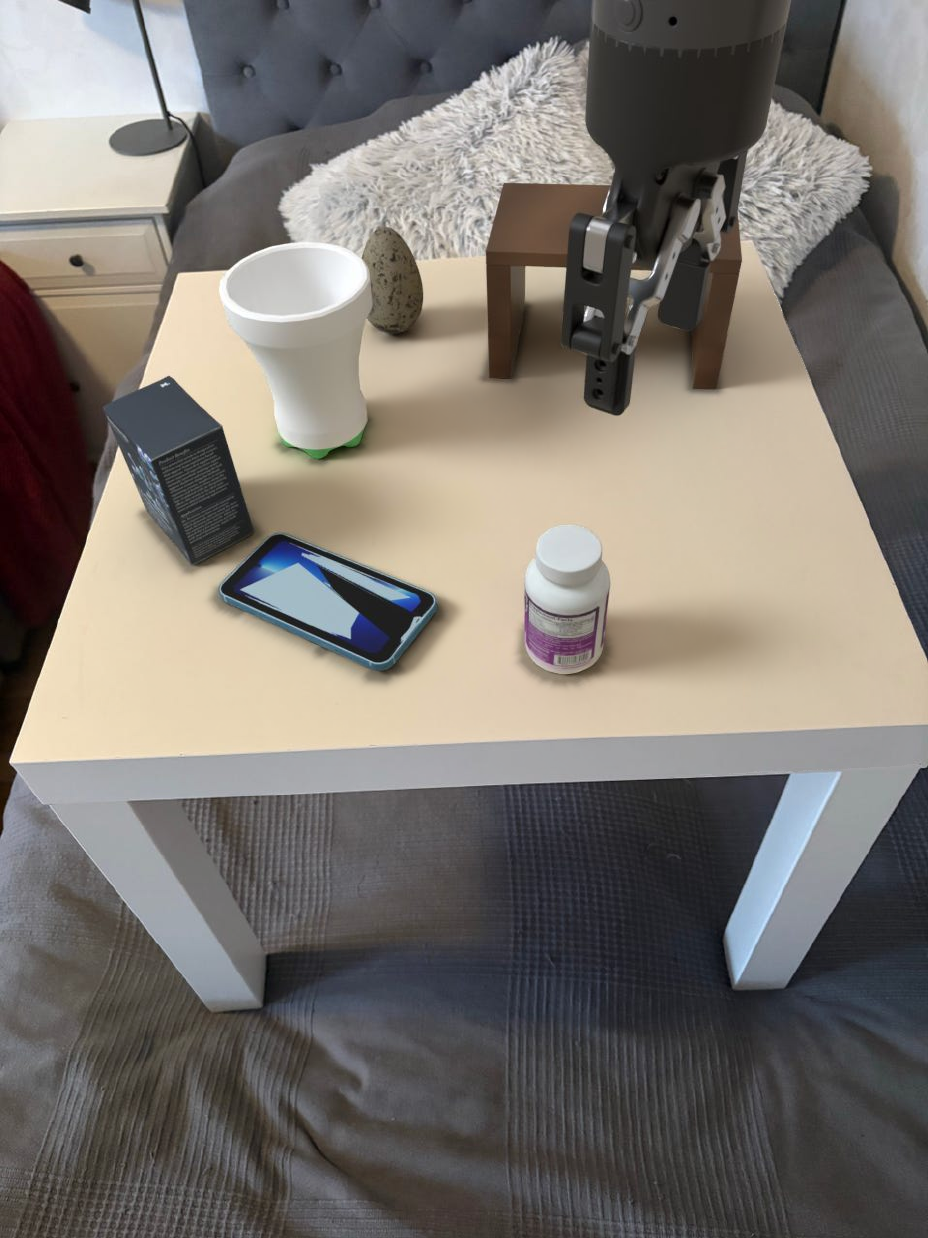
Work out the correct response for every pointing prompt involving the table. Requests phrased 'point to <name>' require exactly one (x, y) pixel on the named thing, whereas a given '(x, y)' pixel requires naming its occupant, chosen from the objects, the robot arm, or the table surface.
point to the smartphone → (330, 600)
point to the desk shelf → (539, 237)
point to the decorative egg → (392, 282)
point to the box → (181, 468)
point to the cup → (305, 337)
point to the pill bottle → (566, 600)
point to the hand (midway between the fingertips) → (643, 363)
